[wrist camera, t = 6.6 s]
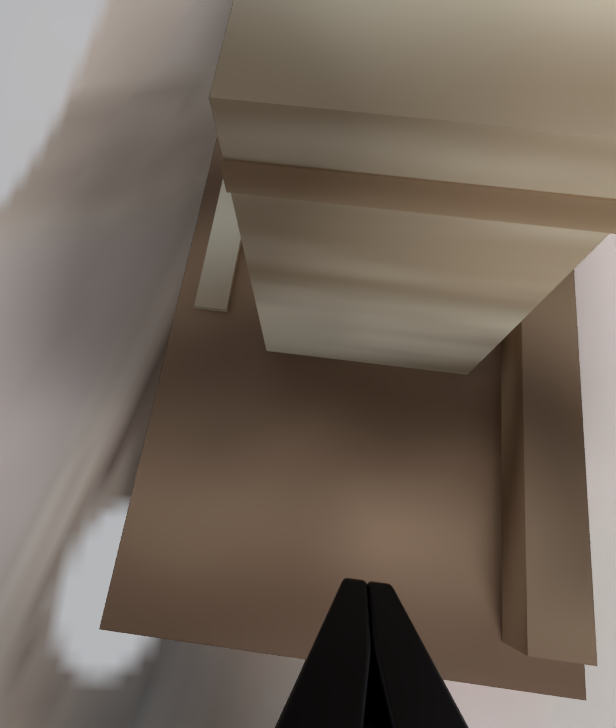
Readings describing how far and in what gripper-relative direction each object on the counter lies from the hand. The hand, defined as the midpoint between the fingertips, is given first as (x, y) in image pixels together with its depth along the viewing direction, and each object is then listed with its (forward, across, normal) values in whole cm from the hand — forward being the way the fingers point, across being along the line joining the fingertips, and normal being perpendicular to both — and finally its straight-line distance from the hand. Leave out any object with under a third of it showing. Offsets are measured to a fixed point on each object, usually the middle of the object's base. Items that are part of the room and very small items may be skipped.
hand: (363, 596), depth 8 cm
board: (+12, 0, -4) cm, 13 cm away
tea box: (+12, 0, -6) cm, 13 cm away
